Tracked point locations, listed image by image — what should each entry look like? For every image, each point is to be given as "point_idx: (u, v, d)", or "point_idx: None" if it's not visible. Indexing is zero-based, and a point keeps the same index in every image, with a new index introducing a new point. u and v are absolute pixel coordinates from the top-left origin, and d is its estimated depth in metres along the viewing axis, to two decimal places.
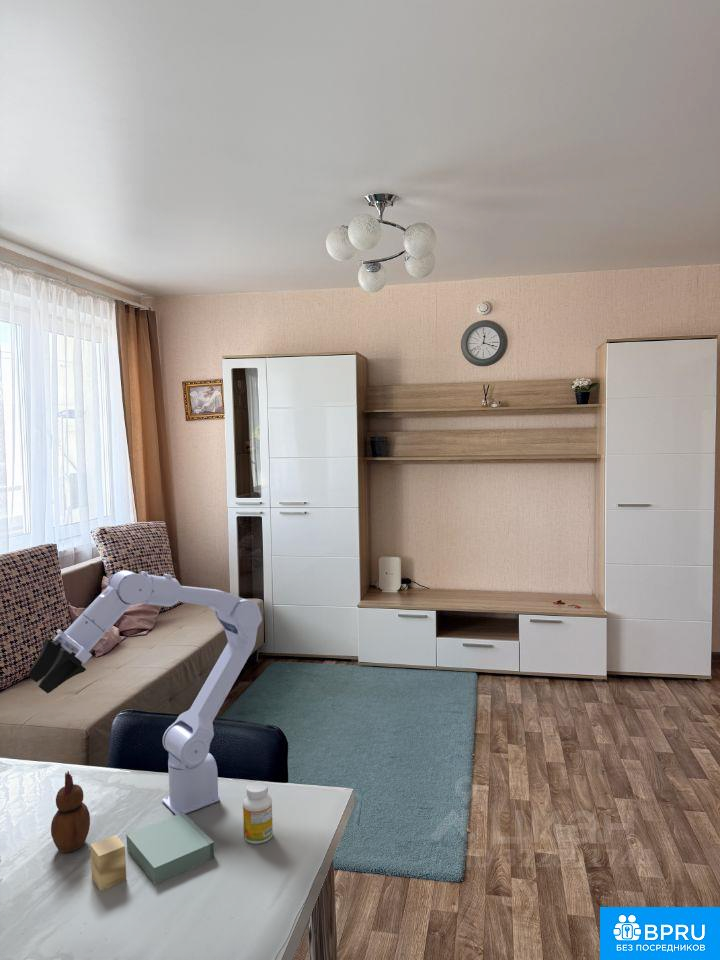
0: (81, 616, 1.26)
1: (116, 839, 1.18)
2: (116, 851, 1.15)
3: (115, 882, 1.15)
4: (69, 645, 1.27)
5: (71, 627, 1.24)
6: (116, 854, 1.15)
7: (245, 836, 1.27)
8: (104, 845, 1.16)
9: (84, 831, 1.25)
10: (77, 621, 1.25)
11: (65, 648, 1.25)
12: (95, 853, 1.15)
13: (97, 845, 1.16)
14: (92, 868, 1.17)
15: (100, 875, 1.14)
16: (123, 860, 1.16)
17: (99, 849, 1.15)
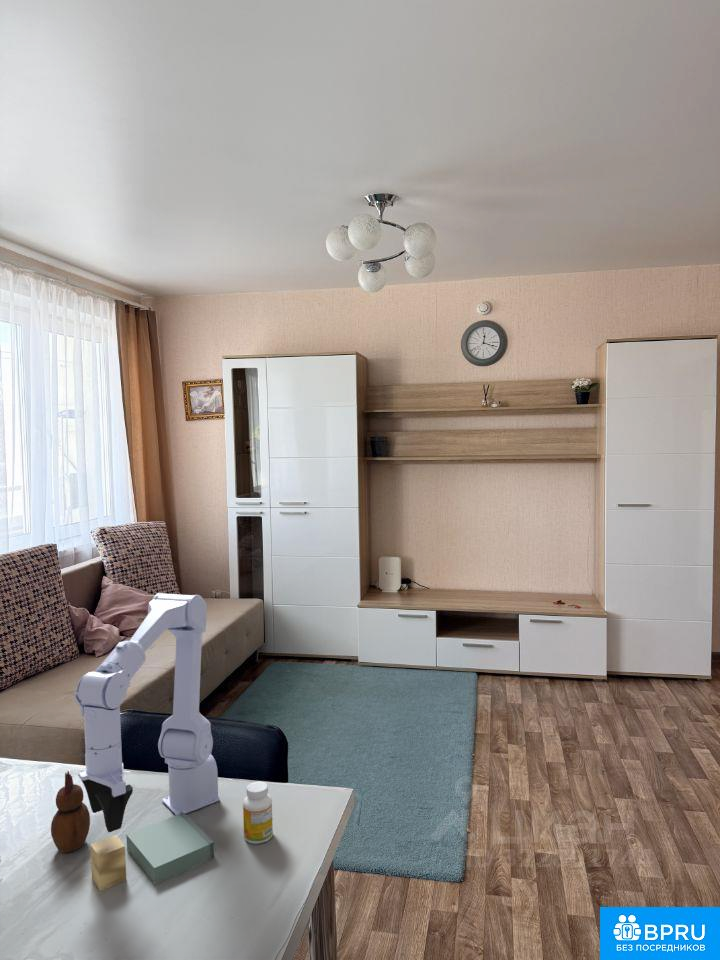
0: (86, 749, 1.13)
1: (116, 839, 1.18)
2: (116, 851, 1.15)
3: (115, 882, 1.15)
4: None
5: (87, 765, 1.13)
6: (116, 854, 1.15)
7: (245, 836, 1.27)
8: (104, 845, 1.16)
9: (84, 831, 1.25)
10: (87, 756, 1.13)
11: None
12: (95, 853, 1.15)
13: (97, 845, 1.16)
14: (92, 868, 1.17)
15: (100, 875, 1.14)
16: (123, 860, 1.16)
17: (99, 849, 1.15)
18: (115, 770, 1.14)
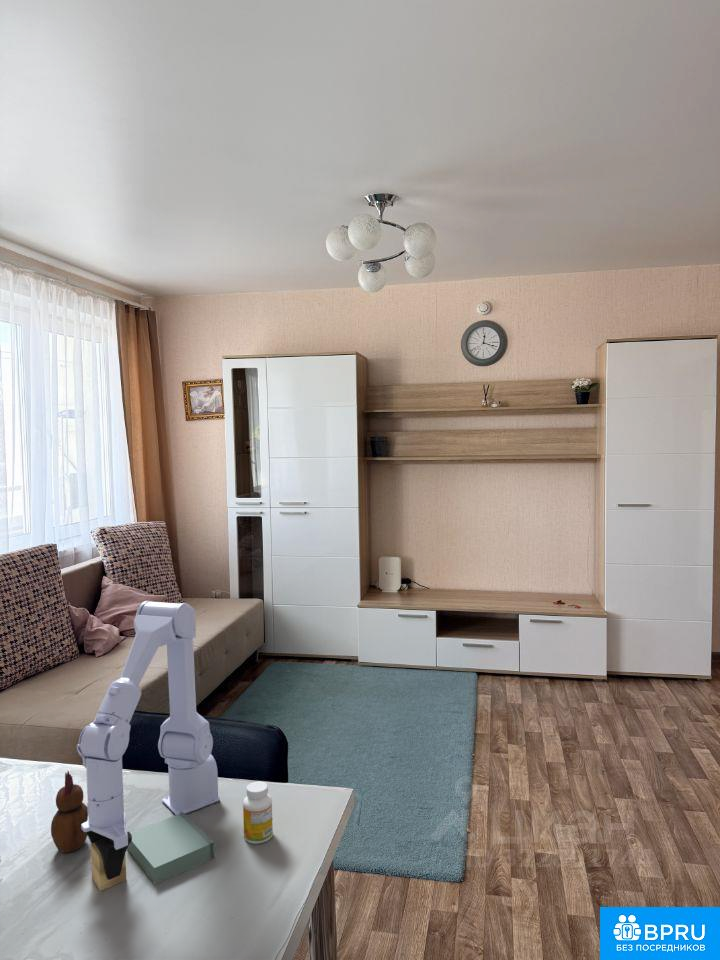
0: (89, 801, 1.14)
1: None
2: None
3: (115, 882, 1.15)
4: None
5: (90, 816, 1.14)
6: None
7: (245, 836, 1.27)
8: None
9: None
10: (90, 808, 1.14)
11: None
12: (95, 853, 1.15)
13: None
14: (92, 868, 1.17)
15: (100, 875, 1.14)
16: (123, 860, 1.16)
17: None
18: (117, 821, 1.15)
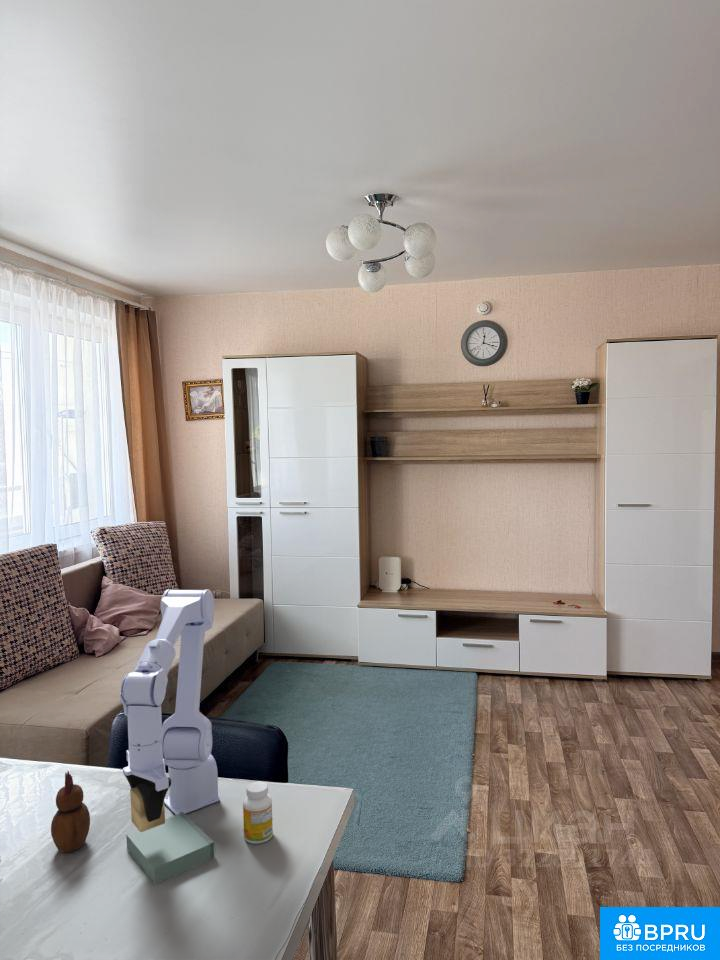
0: (130, 746, 1.18)
1: None
2: None
3: (154, 825, 1.19)
4: None
5: (131, 761, 1.18)
6: None
7: (245, 836, 1.27)
8: None
9: (84, 831, 1.25)
10: (131, 752, 1.18)
11: None
12: (135, 797, 1.19)
13: (137, 790, 1.21)
14: (132, 812, 1.21)
15: (140, 817, 1.18)
16: None
17: (139, 793, 1.19)
18: (157, 766, 1.19)
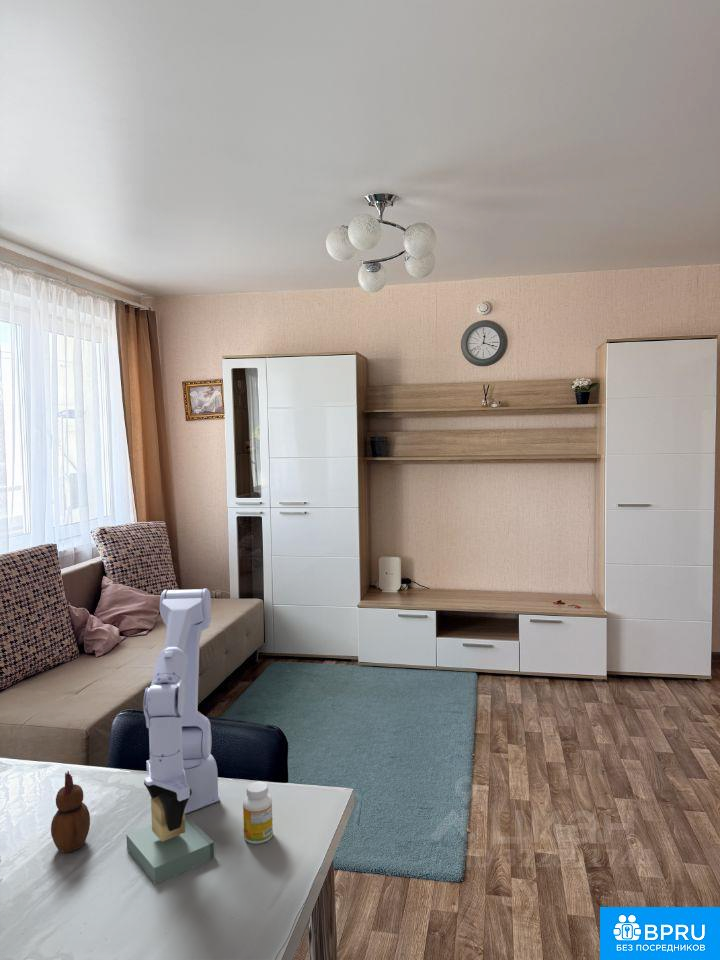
0: (151, 756, 1.21)
1: None
2: None
3: (175, 834, 1.22)
4: None
5: (152, 771, 1.21)
6: None
7: (245, 836, 1.27)
8: None
9: (84, 831, 1.25)
10: (152, 763, 1.21)
11: None
12: (156, 806, 1.21)
13: (157, 799, 1.23)
14: (153, 821, 1.23)
15: (162, 827, 1.20)
16: None
17: (159, 803, 1.22)
18: (178, 776, 1.21)
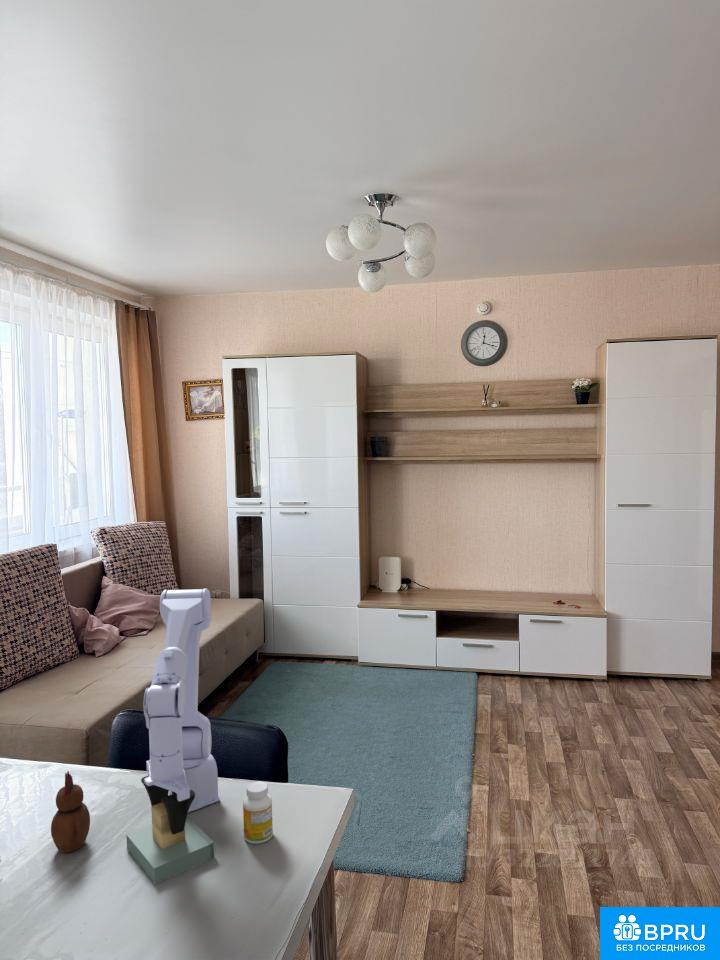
0: (151, 757, 1.21)
1: None
2: None
3: (175, 841, 1.22)
4: None
5: (152, 771, 1.21)
6: None
7: (245, 836, 1.27)
8: None
9: (84, 831, 1.25)
10: (152, 763, 1.21)
11: None
12: (156, 814, 1.21)
13: (158, 807, 1.23)
14: (153, 828, 1.23)
15: (162, 834, 1.20)
16: None
17: (160, 810, 1.22)
18: (178, 776, 1.21)
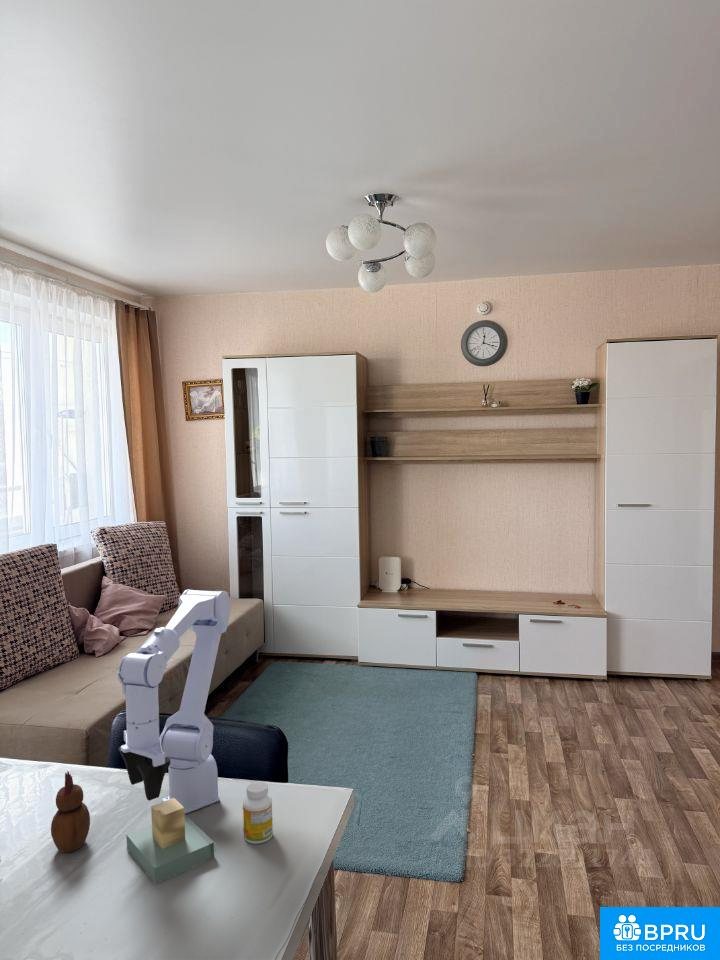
0: (128, 724, 1.23)
1: (175, 801, 1.25)
2: (176, 812, 1.22)
3: (175, 841, 1.22)
4: None
5: (129, 739, 1.23)
6: (176, 815, 1.22)
7: (245, 836, 1.27)
8: (164, 806, 1.23)
9: (84, 831, 1.25)
10: (129, 731, 1.23)
11: None
12: (156, 814, 1.21)
13: (157, 807, 1.23)
14: (153, 828, 1.23)
15: (162, 834, 1.20)
16: (182, 821, 1.23)
17: (159, 810, 1.22)
18: (154, 743, 1.24)
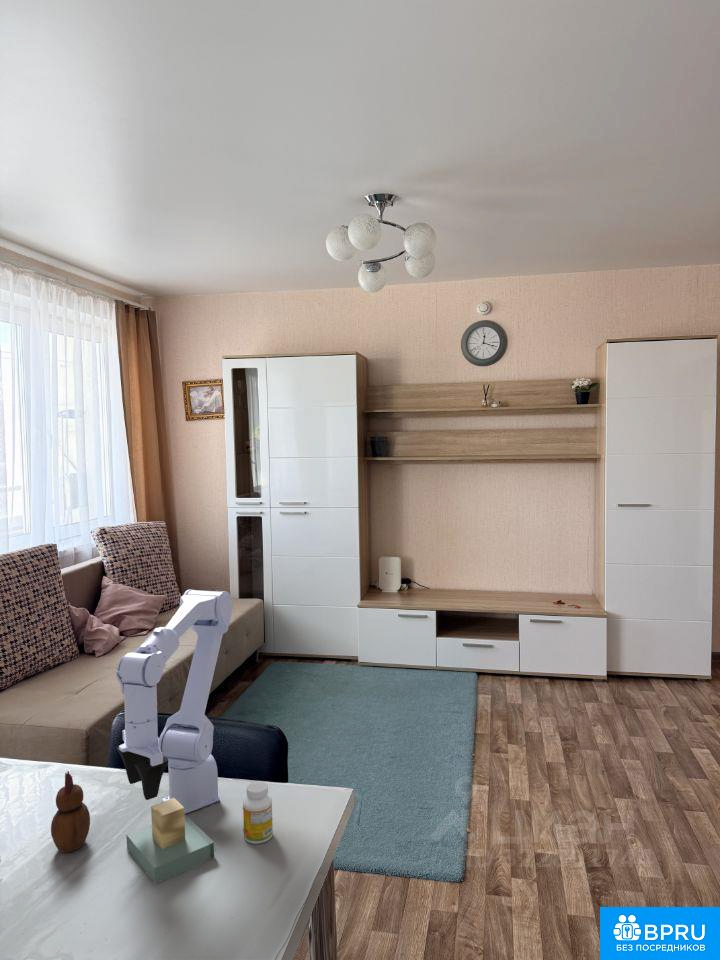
0: (126, 723, 1.24)
1: (175, 801, 1.25)
2: (176, 812, 1.22)
3: (175, 841, 1.22)
4: None
5: (127, 738, 1.24)
6: (176, 815, 1.22)
7: (245, 836, 1.27)
8: (164, 806, 1.23)
9: (84, 831, 1.25)
10: (127, 730, 1.23)
11: None
12: (156, 814, 1.21)
13: (157, 807, 1.23)
14: (153, 828, 1.23)
15: (162, 834, 1.20)
16: (182, 821, 1.23)
17: (160, 810, 1.22)
18: (152, 743, 1.24)
